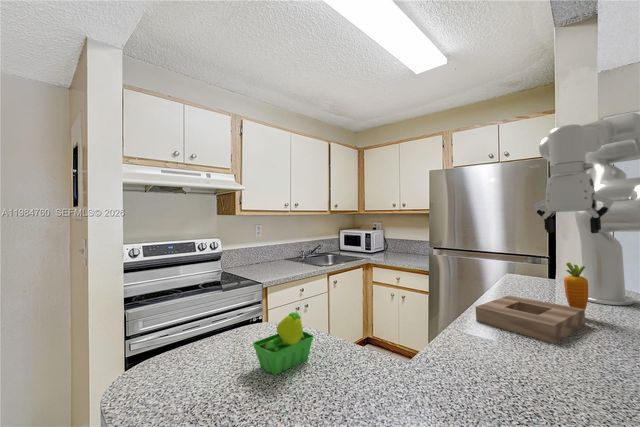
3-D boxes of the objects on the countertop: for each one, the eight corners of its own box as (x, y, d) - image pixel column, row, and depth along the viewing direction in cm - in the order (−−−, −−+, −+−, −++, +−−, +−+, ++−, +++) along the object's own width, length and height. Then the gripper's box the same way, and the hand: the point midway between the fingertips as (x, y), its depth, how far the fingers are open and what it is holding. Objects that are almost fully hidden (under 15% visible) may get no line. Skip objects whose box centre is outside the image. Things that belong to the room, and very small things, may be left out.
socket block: (509, 308, 89) (508, 295, 89) (585, 325, 73) (584, 309, 73) (476, 321, 79) (475, 306, 79) (555, 343, 64) (554, 325, 64)
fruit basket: (294, 348, 68) (292, 300, 68) (320, 360, 61) (317, 307, 62) (252, 367, 60) (249, 313, 60) (277, 383, 54) (274, 322, 54)
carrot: (595, 320, 76) (592, 263, 76) (576, 321, 76) (573, 264, 76) (579, 314, 81) (575, 261, 81) (561, 315, 81) (558, 261, 81)
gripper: (615, 166, 74) (620, 232, 73) (537, 176, 89) (540, 231, 88) (605, 164, 70) (610, 234, 69) (525, 175, 85) (529, 233, 84)
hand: (571, 232), depth 79 cm, fingers open, 9 cm apart
